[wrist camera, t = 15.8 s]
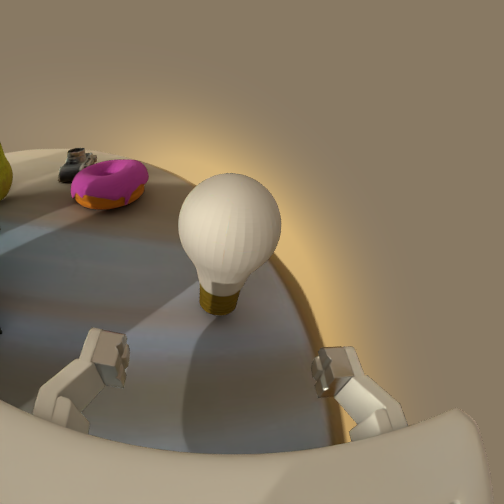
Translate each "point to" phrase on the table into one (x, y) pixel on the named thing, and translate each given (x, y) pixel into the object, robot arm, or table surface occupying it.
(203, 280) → the light bulb
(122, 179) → the donut
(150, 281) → the table surface
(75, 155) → the camera
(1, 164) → the fruit
